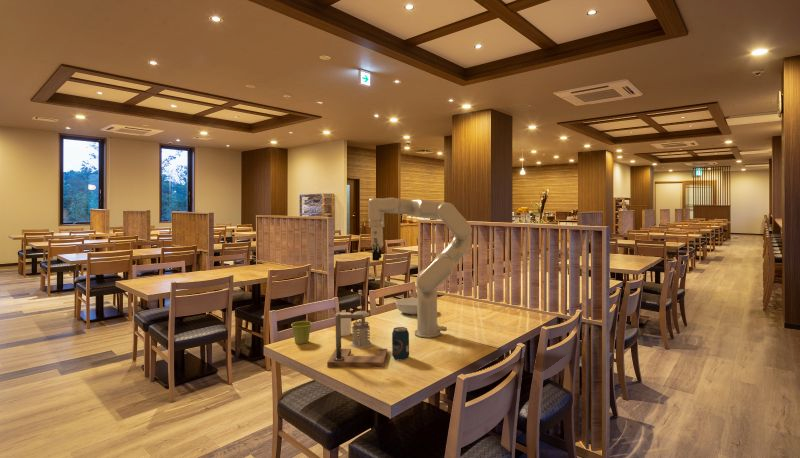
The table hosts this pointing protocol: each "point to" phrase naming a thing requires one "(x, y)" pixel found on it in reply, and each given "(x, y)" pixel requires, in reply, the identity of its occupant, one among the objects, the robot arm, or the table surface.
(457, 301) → the table surface
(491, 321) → the table surface
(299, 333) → the plant pot
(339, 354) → the knobbed metal rod
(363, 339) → the french press
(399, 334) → the soda can
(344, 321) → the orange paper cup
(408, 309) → the serving bowl
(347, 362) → the u-shaped wooden block
